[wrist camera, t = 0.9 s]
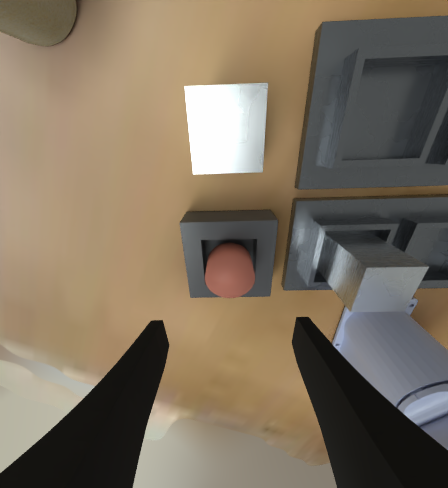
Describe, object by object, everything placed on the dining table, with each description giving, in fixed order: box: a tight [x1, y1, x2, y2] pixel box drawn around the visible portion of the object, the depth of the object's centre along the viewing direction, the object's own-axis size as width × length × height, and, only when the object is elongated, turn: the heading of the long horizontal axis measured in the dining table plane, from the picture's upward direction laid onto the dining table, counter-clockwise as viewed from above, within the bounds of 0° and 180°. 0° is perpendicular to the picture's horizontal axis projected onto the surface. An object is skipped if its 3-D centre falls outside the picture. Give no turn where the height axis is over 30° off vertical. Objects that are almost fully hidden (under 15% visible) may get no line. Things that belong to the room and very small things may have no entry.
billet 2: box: [317, 231, 429, 312], centre depth 16 cm, size 4×4×6 cm
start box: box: [180, 210, 278, 298], centre depth 18 cm, size 8×8×3 cm
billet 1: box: [185, 83, 268, 174], centre depth 13 cm, size 4×4×6 cm
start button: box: [205, 243, 255, 298], centre depth 16 cm, size 4×4×2 cm
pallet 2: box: [281, 194, 448, 290], centre depth 18 cm, size 10×18×2 cm, turn 92°
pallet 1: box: [295, 16, 448, 189], centre depth 13 cm, size 10×18×2 cm, turn 92°
